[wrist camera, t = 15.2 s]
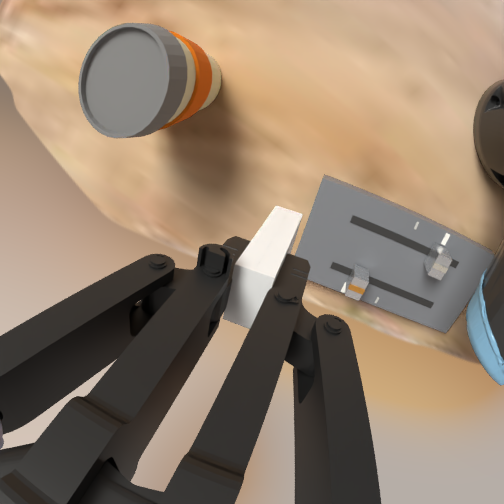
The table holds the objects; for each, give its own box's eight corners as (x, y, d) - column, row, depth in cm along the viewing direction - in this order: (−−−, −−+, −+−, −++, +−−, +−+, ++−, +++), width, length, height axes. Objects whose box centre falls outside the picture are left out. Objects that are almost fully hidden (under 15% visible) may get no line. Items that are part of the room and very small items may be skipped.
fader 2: (446, 248, 35) (452, 260, 32) (436, 267, 36) (440, 281, 34) (434, 242, 35) (439, 254, 32) (423, 262, 37) (427, 275, 34)
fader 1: (368, 269, 40) (368, 283, 37) (359, 287, 41) (358, 301, 38) (354, 264, 40) (353, 277, 37) (346, 282, 42) (344, 296, 39)
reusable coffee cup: (254, 72, 35) (198, 60, 23) (197, 142, 42) (128, 166, 29) (186, 22, 34) (114, 2, 21) (139, 91, 41) (63, 99, 28)
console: (491, 250, 35) (496, 257, 33) (443, 325, 42) (445, 333, 40) (324, 174, 39) (322, 178, 37) (291, 265, 46) (288, 272, 44)
